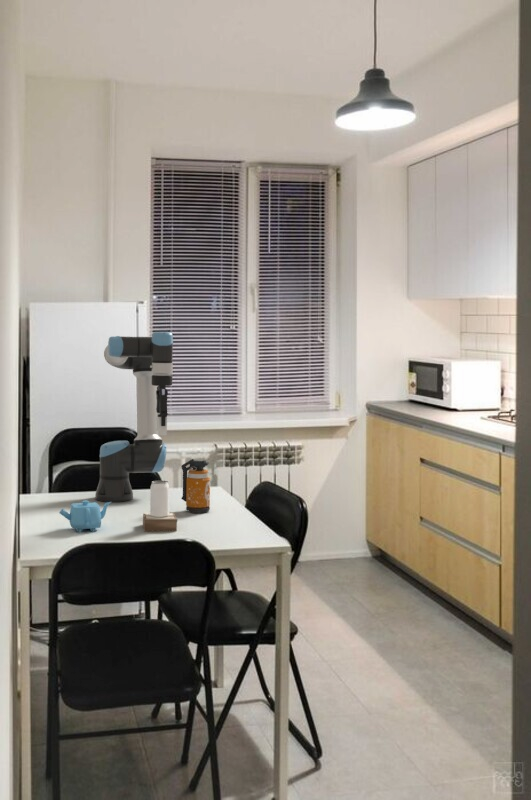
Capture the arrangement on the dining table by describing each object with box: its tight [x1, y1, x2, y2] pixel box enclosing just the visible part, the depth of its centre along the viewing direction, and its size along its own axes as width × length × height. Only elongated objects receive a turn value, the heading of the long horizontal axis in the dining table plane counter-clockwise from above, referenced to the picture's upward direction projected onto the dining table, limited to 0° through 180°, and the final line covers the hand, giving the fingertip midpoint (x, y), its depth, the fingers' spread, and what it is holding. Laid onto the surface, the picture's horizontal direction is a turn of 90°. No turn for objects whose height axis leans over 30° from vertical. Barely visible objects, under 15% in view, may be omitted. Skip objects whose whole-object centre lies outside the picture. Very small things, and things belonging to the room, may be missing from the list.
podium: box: [142, 512, 178, 533], centre depth 316 cm, size 11×11×4 cm
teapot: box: [58, 500, 113, 533], centre depth 312 cm, size 18×14×10 cm
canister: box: [180, 458, 211, 514], centre depth 345 cm, size 9×11×20 cm
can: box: [149, 480, 170, 518], centre depth 316 cm, size 6×6×12 cm
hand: (161, 432), depth 329 cm, fingers open, 13 cm apart
